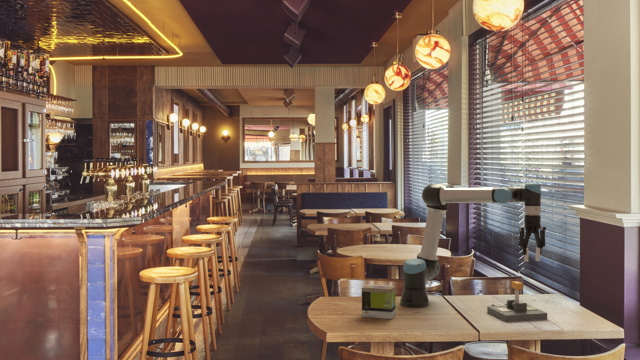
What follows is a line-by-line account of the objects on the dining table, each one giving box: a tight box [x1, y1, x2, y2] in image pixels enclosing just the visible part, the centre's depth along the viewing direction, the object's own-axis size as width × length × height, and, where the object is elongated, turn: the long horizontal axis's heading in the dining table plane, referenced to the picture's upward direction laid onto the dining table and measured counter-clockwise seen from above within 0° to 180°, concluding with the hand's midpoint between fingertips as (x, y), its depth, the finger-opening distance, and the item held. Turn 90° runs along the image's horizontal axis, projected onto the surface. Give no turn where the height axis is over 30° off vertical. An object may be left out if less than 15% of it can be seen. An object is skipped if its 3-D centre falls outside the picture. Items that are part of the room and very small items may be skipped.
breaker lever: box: [511, 281, 524, 307], centre depth 289 cm, size 3×5×13 cm, turn 12°
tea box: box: [361, 283, 397, 320], centre depth 288 cm, size 15×10×15 cm, turn 71°
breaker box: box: [486, 299, 548, 323], centre depth 293 cm, size 22×26×7 cm
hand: (531, 261), depth 290 cm, fingers open, 6 cm apart
